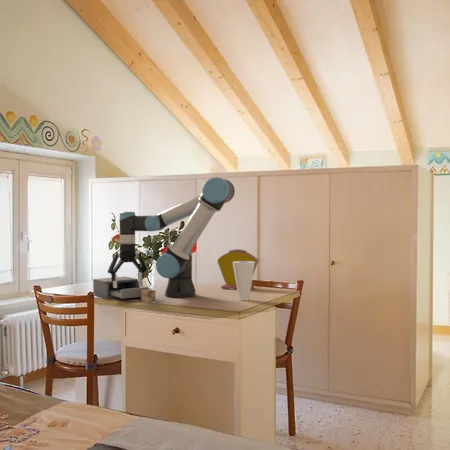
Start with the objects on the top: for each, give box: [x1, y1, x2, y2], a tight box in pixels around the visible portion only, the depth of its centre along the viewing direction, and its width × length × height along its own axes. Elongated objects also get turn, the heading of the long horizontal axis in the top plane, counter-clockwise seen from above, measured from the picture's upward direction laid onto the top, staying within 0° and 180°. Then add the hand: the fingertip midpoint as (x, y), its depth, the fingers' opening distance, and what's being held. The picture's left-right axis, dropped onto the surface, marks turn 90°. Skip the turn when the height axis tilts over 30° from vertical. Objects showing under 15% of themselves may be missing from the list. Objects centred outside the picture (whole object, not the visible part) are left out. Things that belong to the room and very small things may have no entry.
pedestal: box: [140, 288, 157, 303], centre depth 259 cm, size 5×5×5 cm
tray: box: [109, 286, 150, 300], centre depth 268 cm, size 14×15×4 cm
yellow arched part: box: [217, 248, 258, 290], centre depth 301 cm, size 22×9×22 cm, turn 76°
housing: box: [92, 276, 141, 299], centre depth 279 cm, size 18×16×8 cm
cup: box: [233, 261, 255, 301], centre depth 260 cm, size 11×11×18 cm
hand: (127, 286), depth 268 cm, fingers open, 13 cm apart
